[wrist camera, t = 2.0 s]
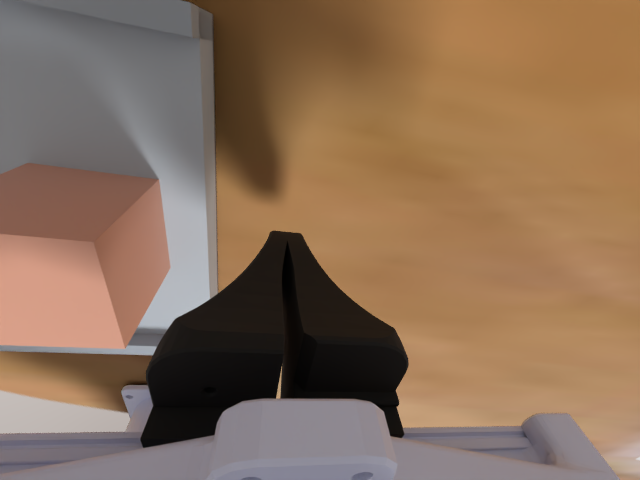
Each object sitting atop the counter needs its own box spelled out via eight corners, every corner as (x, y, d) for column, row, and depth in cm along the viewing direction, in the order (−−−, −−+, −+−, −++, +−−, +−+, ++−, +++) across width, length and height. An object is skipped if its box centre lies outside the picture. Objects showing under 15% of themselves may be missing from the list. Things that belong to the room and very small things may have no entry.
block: (170, 267, 14) (125, 348, 10) (64, 259, 13) (-29, 344, 9) (159, 179, 11) (93, 242, 7) (27, 162, 10) (-119, 223, 7)
